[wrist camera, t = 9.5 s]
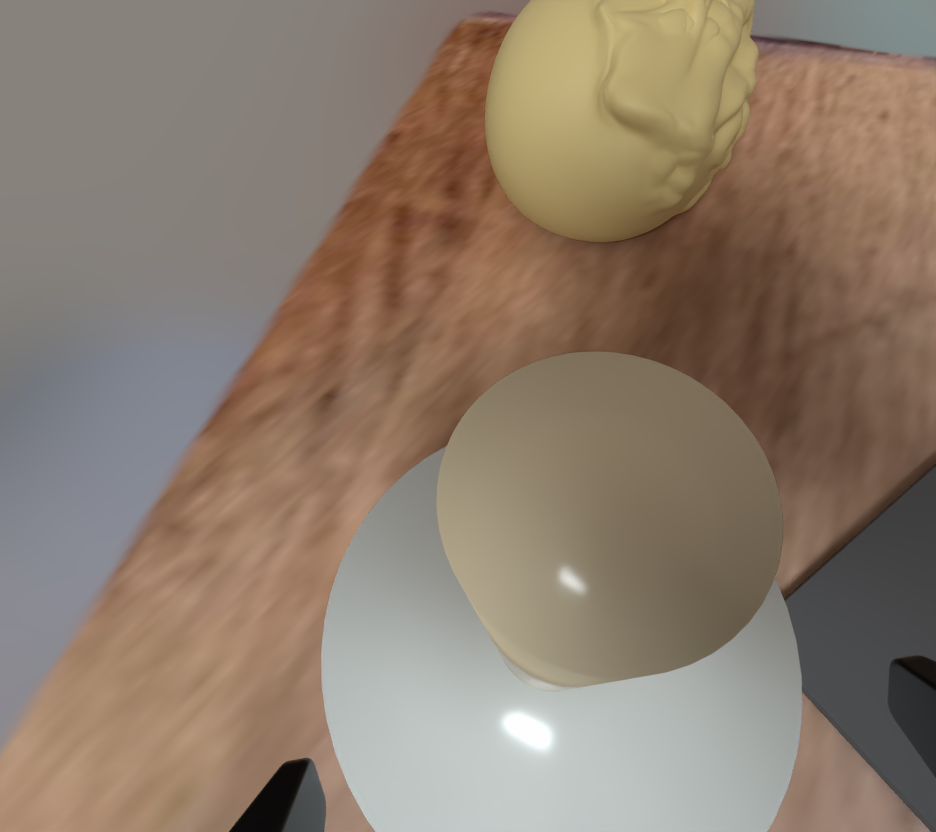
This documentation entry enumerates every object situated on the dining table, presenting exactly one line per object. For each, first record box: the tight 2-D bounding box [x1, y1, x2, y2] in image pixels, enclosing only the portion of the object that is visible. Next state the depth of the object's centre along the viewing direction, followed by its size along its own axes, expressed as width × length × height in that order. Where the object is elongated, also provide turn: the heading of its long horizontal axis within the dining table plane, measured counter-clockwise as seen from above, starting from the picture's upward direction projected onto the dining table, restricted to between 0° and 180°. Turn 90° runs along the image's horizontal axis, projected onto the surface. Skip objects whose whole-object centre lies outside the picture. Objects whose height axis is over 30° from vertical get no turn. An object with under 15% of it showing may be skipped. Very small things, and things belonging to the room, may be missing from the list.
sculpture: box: [485, 0, 759, 242], centre depth 25 cm, size 12×12×11 cm
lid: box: [321, 351, 802, 832], centre depth 11 cm, size 14×14×13 cm
